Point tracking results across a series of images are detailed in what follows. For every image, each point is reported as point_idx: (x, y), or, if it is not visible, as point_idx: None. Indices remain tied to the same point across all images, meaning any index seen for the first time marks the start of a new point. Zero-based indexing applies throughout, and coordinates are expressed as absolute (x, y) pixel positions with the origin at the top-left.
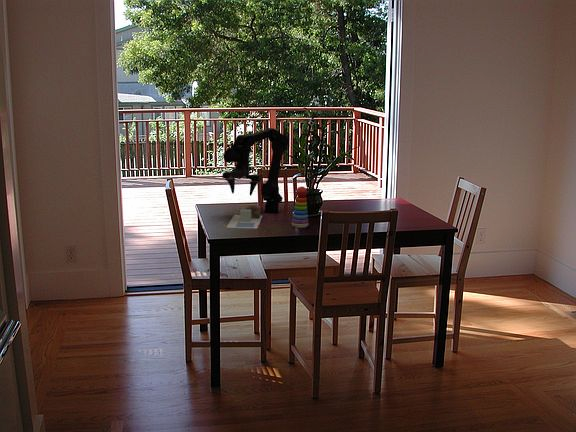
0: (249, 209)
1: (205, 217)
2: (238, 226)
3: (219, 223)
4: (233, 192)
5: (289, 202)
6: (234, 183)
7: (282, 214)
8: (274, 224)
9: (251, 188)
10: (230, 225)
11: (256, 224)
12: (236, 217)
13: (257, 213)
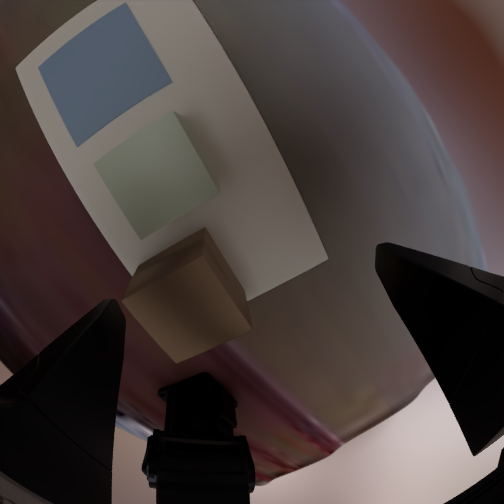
0: (149, 225)
1: (434, 146)
2: (109, 12)
3: (295, 46)
4: (381, 266)
5: (258, 481)
6: (446, 385)
7: (152, 401)
8: (26, 230)
9: (39, 358)
10: (172, 4)
11: (55, 129)
12: (277, 204)
13: (139, 275)
